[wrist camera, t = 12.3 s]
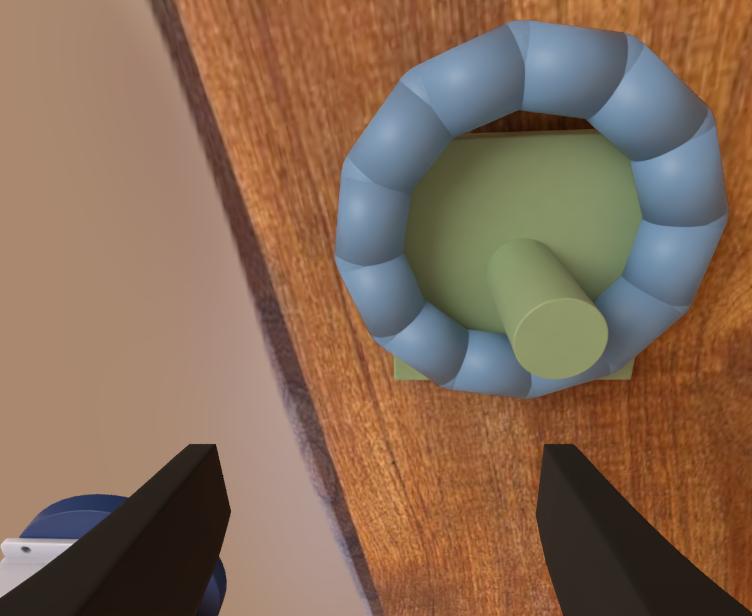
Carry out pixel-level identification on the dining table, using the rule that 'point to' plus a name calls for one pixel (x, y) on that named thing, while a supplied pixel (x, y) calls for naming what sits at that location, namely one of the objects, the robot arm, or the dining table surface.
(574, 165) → the peg stand
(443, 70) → the ring
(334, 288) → the dining table surface
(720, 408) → the dining table surface
